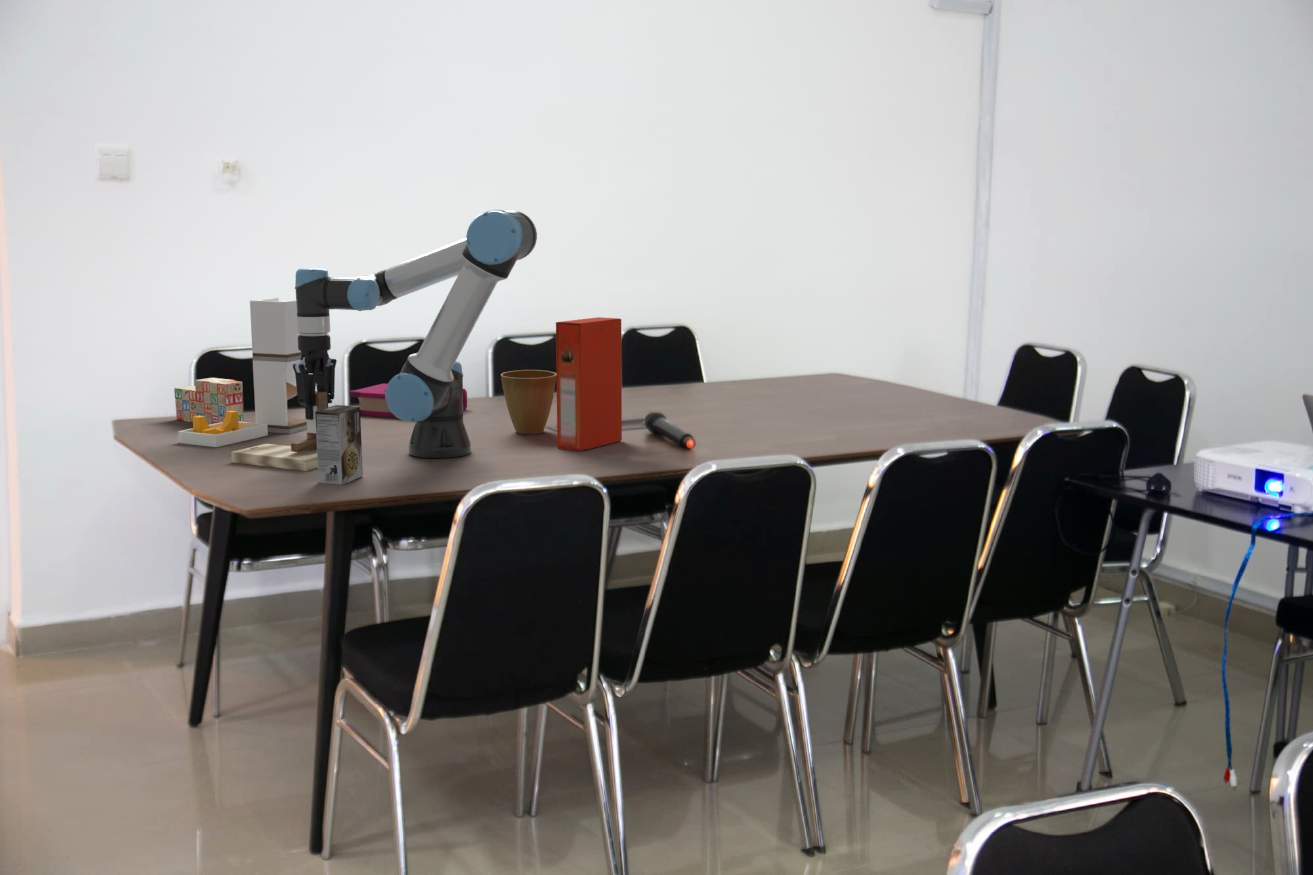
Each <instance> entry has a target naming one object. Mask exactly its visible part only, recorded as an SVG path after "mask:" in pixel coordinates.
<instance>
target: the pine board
mask: <svg viewBox="0 0 1313 875" xmlns="http://www.w3.org/2000/svg"><path fill="white" fill-rule="evenodd" d="M230 454H231V463H233V464H234V463H235V464H243V465H253V466H258V467H259V466H261V467H268V468H279V469H284V470H294V471H302V472H308V471H310V470H315V469H318V462H317V449H309V450H305V451H301V452H291V445H283V444H276V443H275V444H273V443H263V444H259V445H254V446H251V447H246V448H243V449H238V450H234V451H231V452H230Z"/></svg>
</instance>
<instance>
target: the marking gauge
mask: <svg viewBox="0 0 1313 875" xmlns="http://www.w3.org/2000/svg"><path fill="white" fill-rule="evenodd" d="M309 401H310V400H309ZM314 406H317V411H319V410H322V409H325V408H328V407H329V403H328V404H327V392H319V391H317V390H315V405H314ZM290 446H291V452H301V451H305V450H309V449H317V439H316V433H307V432H306V439H303V440H298V441H294V442H291V443H290Z"/></svg>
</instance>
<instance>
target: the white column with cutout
mask: <svg viewBox="0 0 1313 875" xmlns="http://www.w3.org/2000/svg"><path fill="white" fill-rule="evenodd" d="M249 308H250V311H249V315H250V330H251V332H250V333H251V348H252V349H251V350H252V373H253V374H252V375H253V388H254V389H253V391H254V392H253V393H254V414H255V415H254V416H255V423H260V424H267V430H268V433H274V434H275V433H276V434H289V435H291V434H295V433H298V432H299V433H300V432H302V431H307V419H306V418H297V417H289V416H288V400H291V399H293V398H294V397H296V396H297V386H296V377H295V372H294V369H293V364H298V363H299V362H300V361H301V360H300V359H301V355H302V353H301V351H300V350H299V349H298V335H300V333H298V328H297V304H296V299H294V300H279V297H270V298H261V299H254V300H251V299H250V300H249Z"/></svg>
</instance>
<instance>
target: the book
mask: <svg viewBox="0 0 1313 875" xmlns="http://www.w3.org/2000/svg"><path fill="white" fill-rule="evenodd" d="M387 385H388V383H380V384H375V385H372V386H367V387H363V388H359V389H352V390H349V397H350V398H357V399H358V402H359V405H358V407H360V416H371V417H372V416H373V417H386V418H397V417H396V416H395V415H394V414H393V413H392V412H391V411H390V409H389V407H388V405H387V402H386V398H385V391H386V387H387ZM467 409H468V391H467V389H465V388H463V412H464V411H466V410H467Z"/></svg>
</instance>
